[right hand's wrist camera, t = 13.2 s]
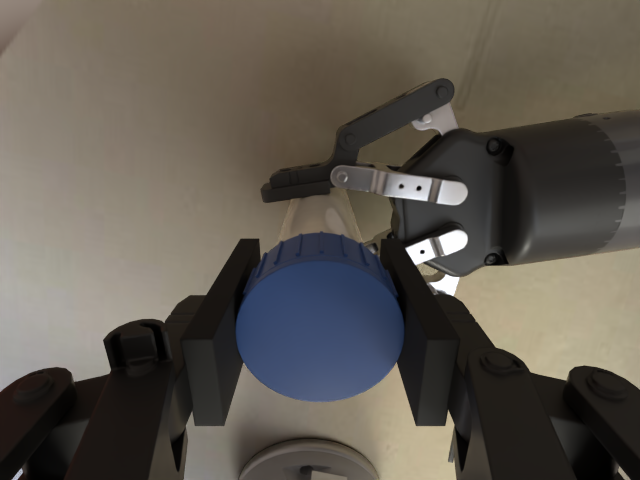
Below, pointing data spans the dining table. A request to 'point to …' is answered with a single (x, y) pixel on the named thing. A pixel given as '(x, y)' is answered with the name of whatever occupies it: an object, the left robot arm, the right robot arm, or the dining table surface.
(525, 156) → the left robot arm
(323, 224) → the jar
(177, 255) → the dining table surface
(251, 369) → the lid
